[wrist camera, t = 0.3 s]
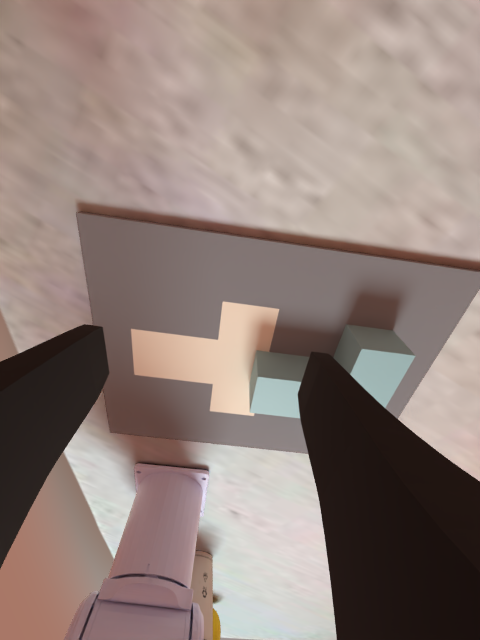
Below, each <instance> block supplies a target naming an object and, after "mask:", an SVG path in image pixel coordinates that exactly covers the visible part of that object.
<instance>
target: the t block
mask: <svg viewBox="0 0 480 640" xmlns="http://www.w3.org/2000/svg"><path fill="white" fill-rule="evenodd" d="M333 358H334V359H335V360H336V361H337V362H338V363H339V364H340V365H341V366H342V367H343V368H344V369H345V370H346V371H347V372H348V373H349V374H350V375H351V376H352V377H353V378H354V379H355V380H356V381H357V382H358V383H359V384H360V385H361V386H362V387H363V388H364V389H365V390H366V391H367V392H368V393H369V394H371V395H372V396H373V397H374V398H375V399H376V400H377V401H378V402H379V403H380V404H381V405H382V406H383V407H384V408H386V406H387V404H388V402H389V401H390V399H391V397H392V396H393V394H394V392H395V390H396V389H397V387H398V385H399V384H400V382H401V380H402V378H403V377H404V375H405V373H406V372H407V370H408V368H409V366H410V365H411V363H412V361H413V360H414V358H415V354H414V353H413V352H412V351H411V350H410V349H409V348H408V347H407V346H406V344H405V343H404V342H403V341H402V340H401V339H400V338H399V337H398V336H397V334H396V333H395V332H394V331H393V330H385V329H378V328H370V327H363V326H355V325H348V324H346V326H345V329H344V331H343V334H342V336H341V339H340V341H339V344H338V347H337V349H336V352H335V354H334V357H333ZM308 360H309V357H306V356H298V355H290V354H282V353H274V352H267V351H259V350H256V354H255V359H254V364H253V368H252V373H251V378H250V383H249V404H250V413H257V414H266V415H275V416H283V417H292V418H300V413H299V404H298V391H299V388H300V385H301V382H302V379H303V376H304V373H305V369H306V366H307V363H308Z"/></svg>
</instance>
